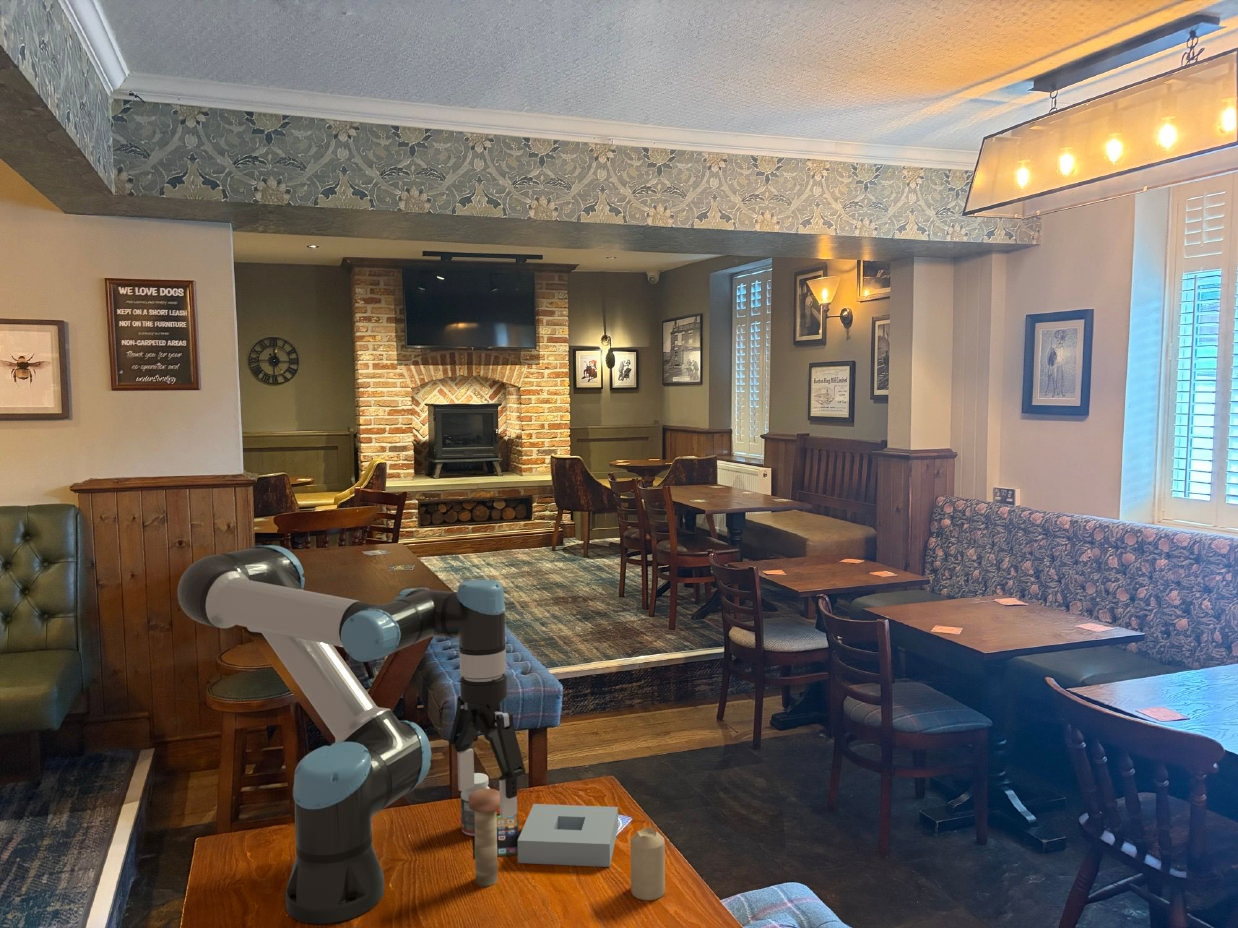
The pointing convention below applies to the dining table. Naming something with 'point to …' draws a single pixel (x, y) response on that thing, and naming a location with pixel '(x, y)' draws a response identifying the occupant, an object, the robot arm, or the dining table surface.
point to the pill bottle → (466, 812)
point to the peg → (485, 834)
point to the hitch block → (569, 835)
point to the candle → (647, 864)
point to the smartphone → (507, 836)
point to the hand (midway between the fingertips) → (486, 801)
